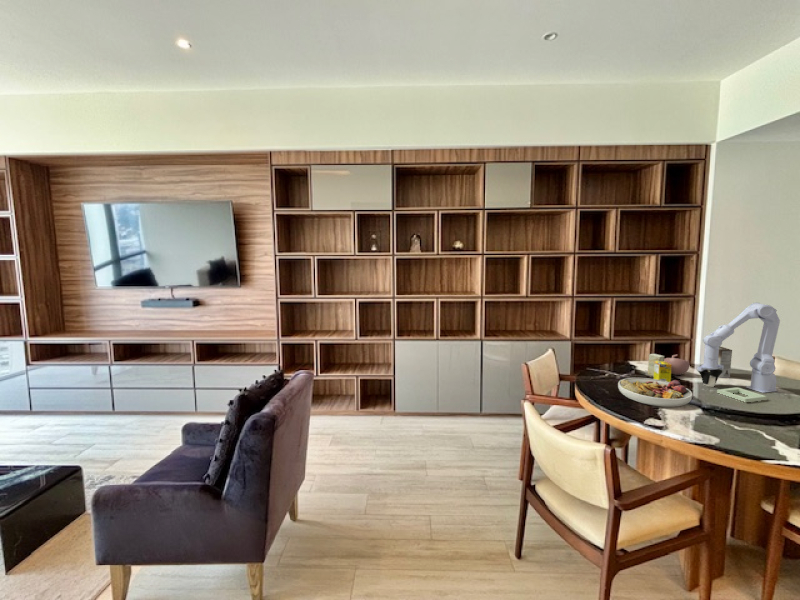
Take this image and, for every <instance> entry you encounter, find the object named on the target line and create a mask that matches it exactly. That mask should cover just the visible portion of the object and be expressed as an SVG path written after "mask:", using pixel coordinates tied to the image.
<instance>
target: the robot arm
mask: <svg viewBox="0 0 800 600" xmlns="http://www.w3.org/2000/svg"><path fill="white" fill-rule="evenodd" d="M753 319H760V320H761V321H762V322H763V326H762V329H761V335H760V338H759V344H758V348H757V352H756V353H755V354H753V357H752V358H751V359H750V360H749V366H750V367H751V376H750V385H748V386H745V389H750V390H751V391H752V390H753V391H756V392H760V393H763V394H764V393H765V394H766V393H772V392H773V393H774V392H778V389H777V379H778V378H777V376H776V375H775V373H774V372H775V371H776V365H775V363H776V362H775V358H774V356H773V354H774V349H775V344H776V340H777V335H778V331H779V327H780V322H781V320H780V317H779V316H778V313H777V309H776V308H775V307H774V306H772V305H770V304H766V303H764V304H763V303H760V302H753V303H751V304H749V306H746V307H745V309H744V310H743V311H741V312H740V314H738V315H737V316H736V317H735V318H734V319H732V320H731V321H730V322H729V323H727V324H722V325H719V326H718V327H717V329H715V330H714V331H713V332H710V334H707V335H706V336H704V338H703V339H702V342H703V343H704V352H703V353H704V354H703V363H702V364H701V365H700V366H697V367H696V371H698V373H699V374H700V378H701V381H702V383H703V385H704V384H708V382H709V377H710V376H714V377H716V379H715V384H717V382H718V379H719V378H718V377H719V376H720V374H721V373H722V370H720V369H723V368H724V366H723V365H718V356H719V346H721V347H722V345H723V342H724V341H725V340H726V339H728V338H729V337H730V336H731V335H733V334H734V333H735V330H736V328H738V327H739V326H741V325H743V324H744V323H746V322H747V321H748V320H753ZM708 370H709V371H710V372H708Z"/></svg>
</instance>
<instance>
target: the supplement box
mask: <svg viewBox="0 0 800 600" xmlns="http://www.w3.org/2000/svg"><path fill="white" fill-rule="evenodd" d="M671 366H672V365H671V364H669V363H668V362H660V361H655V362H654V376H653V379H656V380H662V381H667V382H671V381H672V373H671Z"/></svg>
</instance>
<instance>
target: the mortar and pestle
mask: <svg viewBox="0 0 800 600" xmlns="http://www.w3.org/2000/svg"><path fill="white" fill-rule="evenodd" d="M676 357H679V355H678V354H673V355H671V357H666V358H665V357H664V362H668V363H669V364H671V365H672V366H671V375H672V374H673V375H677V376H679V375H683V374H686V373H687V372H688V370H689V369H690V361H688V360H685V359H683V358H676Z"/></svg>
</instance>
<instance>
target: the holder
mask: <svg viewBox="0 0 800 600" xmlns="http://www.w3.org/2000/svg"><path fill="white" fill-rule="evenodd" d="M738 392H739V393H738ZM717 393H720V394H723V395H726V396H729V397H732V398H735V399H738V400H741V401H744V402H750V401H758V402H762V401H761V400H766V401H767V398H768V396H767V395H763V394H761V393H756V392H754V391H752V390H751V391H750V390H747V389H746V388H745V389H744V388H742V387H737V386H736V387H729V388H721V389H716V394H717ZM733 393H734V394H733ZM740 393H742V394H741V395H739V394H740ZM720 394H719V395H720ZM743 394H745V395H744V396H742V395H743ZM746 395H748V396H746Z"/></svg>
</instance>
